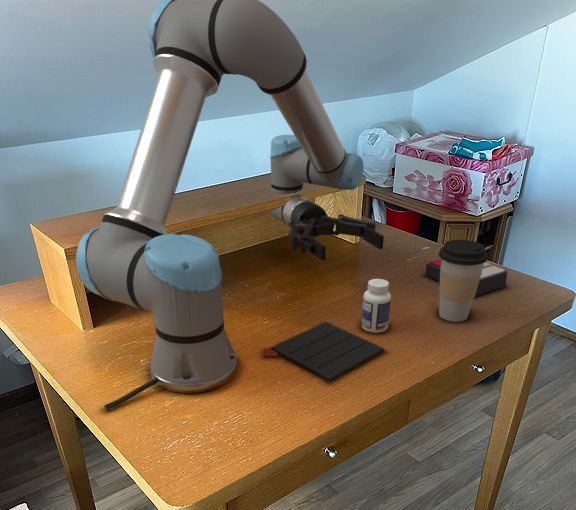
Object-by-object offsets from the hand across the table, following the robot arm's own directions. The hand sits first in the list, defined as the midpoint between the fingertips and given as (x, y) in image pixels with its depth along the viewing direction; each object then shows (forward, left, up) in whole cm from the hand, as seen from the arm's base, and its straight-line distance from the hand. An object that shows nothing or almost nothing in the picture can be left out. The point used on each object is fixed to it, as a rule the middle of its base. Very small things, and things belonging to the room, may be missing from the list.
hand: (353, 248), depth 121 cm
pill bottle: (-3, -9, -13) cm, 17 cm away
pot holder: (-18, -9, -13) cm, 24 cm away
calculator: (+30, -9, -13) cm, 34 cm away
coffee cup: (+13, -17, -13) cm, 26 cm away
